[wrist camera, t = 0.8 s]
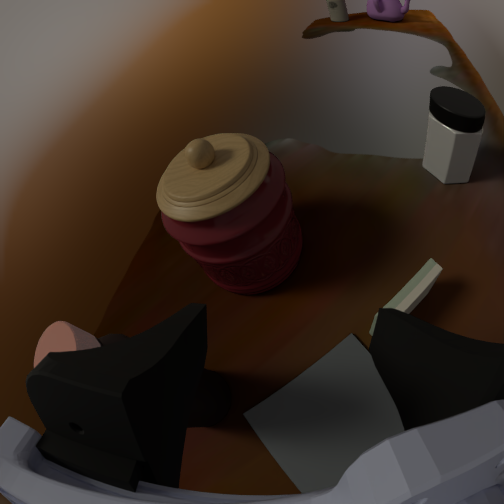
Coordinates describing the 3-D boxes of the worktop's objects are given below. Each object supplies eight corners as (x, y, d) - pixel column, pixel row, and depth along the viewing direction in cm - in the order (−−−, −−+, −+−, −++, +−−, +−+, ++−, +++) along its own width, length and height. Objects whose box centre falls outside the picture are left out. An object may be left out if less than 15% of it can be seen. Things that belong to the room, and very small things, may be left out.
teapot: (360, 21, 81) (354, -9, 69) (376, 14, 86) (371, -12, 74) (411, 29, 69) (407, -4, 56) (421, 21, 74) (417, -6, 62)
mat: (451, 449, 17) (453, 449, 17) (339, 533, 16) (339, 534, 15) (351, 333, 27) (351, 333, 27) (244, 413, 26) (242, 414, 26)
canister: (308, 209, 37) (278, 92, 23) (297, 301, 31) (251, 194, 17) (220, 212, 42) (163, 116, 28) (196, 293, 36) (106, 208, 21)
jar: (468, 193, 31) (488, 126, 21) (419, 176, 35) (427, 106, 25) (470, 157, 33) (483, 96, 24) (426, 142, 37) (432, 79, 28)
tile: (427, 293, 27) (442, 268, 22) (378, 343, 26) (387, 328, 21) (418, 284, 28) (430, 257, 23) (369, 332, 27) (375, 315, 22)
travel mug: (339, 18, 88) (331, -15, 74) (352, 19, 84) (345, -15, 69) (327, 21, 88) (318, -14, 73) (341, 22, 83) (332, -14, 68)
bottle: (236, 424, 26) (89, 422, 10) (181, 427, 27) (25, 411, 11) (228, 365, 30) (94, 295, 13) (175, 373, 31) (32, 314, 14)
